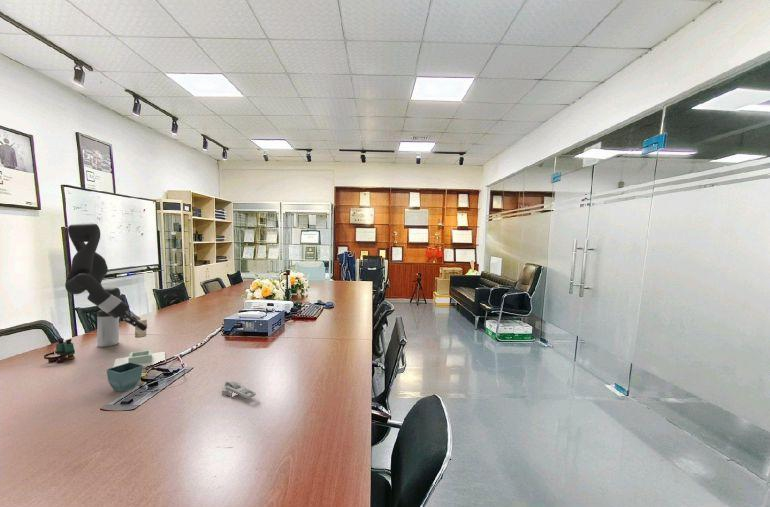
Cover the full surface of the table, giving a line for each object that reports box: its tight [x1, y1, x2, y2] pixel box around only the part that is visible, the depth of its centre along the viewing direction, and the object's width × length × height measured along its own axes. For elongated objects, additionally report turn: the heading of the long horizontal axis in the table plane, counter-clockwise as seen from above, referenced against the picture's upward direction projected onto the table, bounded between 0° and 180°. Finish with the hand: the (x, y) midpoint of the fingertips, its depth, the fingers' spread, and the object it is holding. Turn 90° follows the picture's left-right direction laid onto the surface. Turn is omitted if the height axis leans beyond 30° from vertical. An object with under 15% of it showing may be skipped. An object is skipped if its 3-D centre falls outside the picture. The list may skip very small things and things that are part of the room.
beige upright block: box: [134, 319, 148, 339], centre depth 150 cm, size 4×4×8 cm
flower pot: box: [106, 362, 144, 393], centre depth 125 cm, size 9×9×9 cm
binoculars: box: [43, 337, 76, 364], centre depth 150 cm, size 9×11×10 cm
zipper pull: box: [221, 380, 257, 399], centre depth 122 cm, size 8×18×4 cm, turn 57°
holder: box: [112, 349, 166, 369], centre depth 151 cm, size 18×20×4 cm
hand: (145, 327), depth 152 cm, fingers closed on beige upright block, 4 cm apart
